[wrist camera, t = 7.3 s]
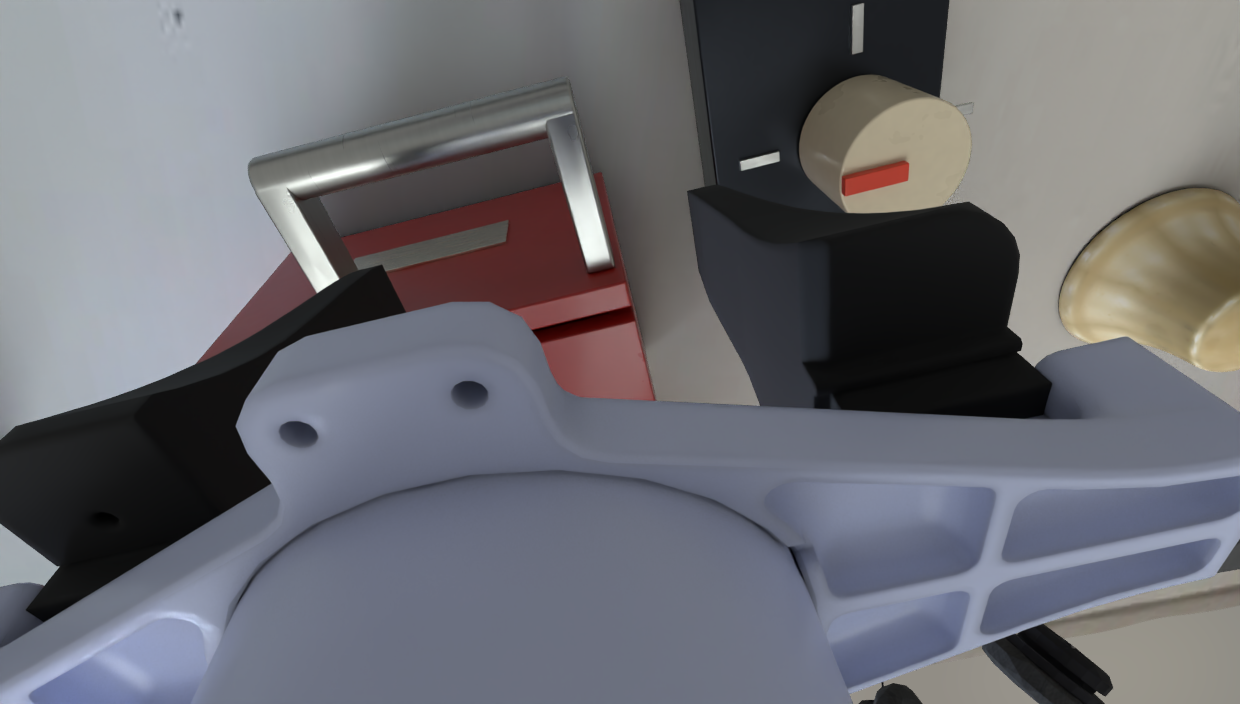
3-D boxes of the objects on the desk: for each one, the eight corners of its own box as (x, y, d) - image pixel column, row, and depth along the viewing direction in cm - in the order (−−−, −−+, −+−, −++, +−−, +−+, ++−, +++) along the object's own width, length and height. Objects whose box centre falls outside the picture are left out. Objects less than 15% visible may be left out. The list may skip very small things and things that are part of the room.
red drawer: (606, 190, 23) (632, 306, 15) (303, 267, 23) (189, 413, 16) (568, 33, 20) (578, 85, 12) (217, 126, 20) (26, 229, 13)
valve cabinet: (645, 351, 28) (681, 509, 20) (395, 410, 28) (336, 586, 21) (607, 194, 23) (635, 320, 15) (310, 269, 24) (192, 426, 16)
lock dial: (915, 60, 19) (988, 83, 16) (907, 177, 21) (969, 217, 18) (795, 91, 19) (844, 120, 16) (800, 203, 22) (843, 248, 18)
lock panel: (920, 223, 25) (954, 249, 23) (716, 273, 26) (731, 302, 24) (948, -84, 19) (999, -87, 17) (677, -11, 19) (693, -6, 17)
